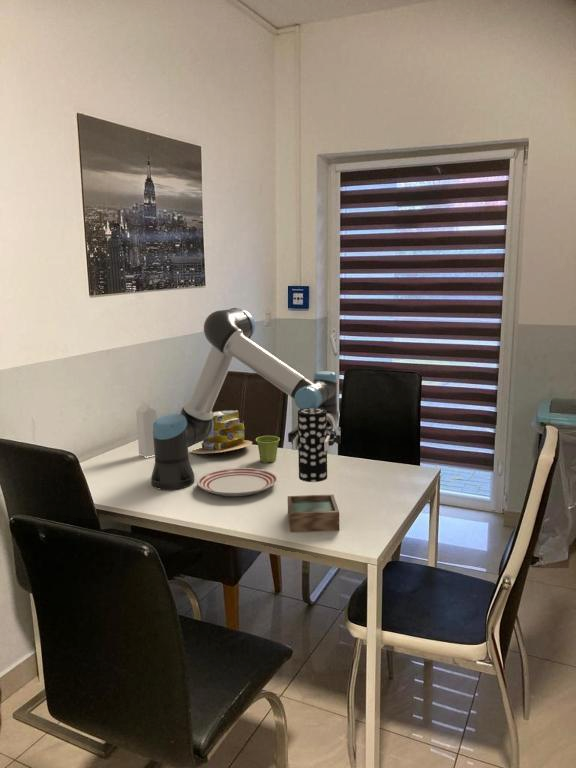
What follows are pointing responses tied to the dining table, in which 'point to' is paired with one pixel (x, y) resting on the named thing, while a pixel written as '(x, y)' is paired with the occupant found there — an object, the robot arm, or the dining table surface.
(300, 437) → the white-spotted black cylinder
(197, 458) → the dining table surface
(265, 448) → the plant pot
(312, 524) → the square wooden tray
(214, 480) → the dinner plate
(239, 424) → the plate of food packages
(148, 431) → the milk
